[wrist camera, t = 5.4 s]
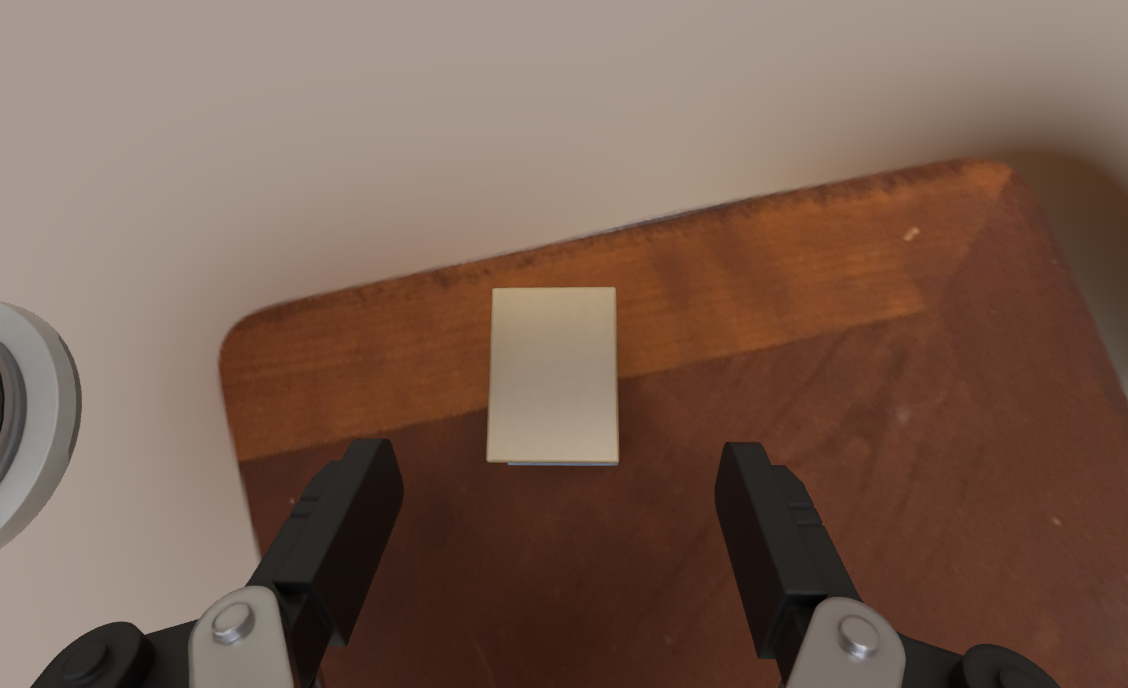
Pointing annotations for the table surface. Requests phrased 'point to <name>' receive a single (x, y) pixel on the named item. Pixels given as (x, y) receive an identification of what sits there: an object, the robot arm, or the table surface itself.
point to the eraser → (553, 377)
